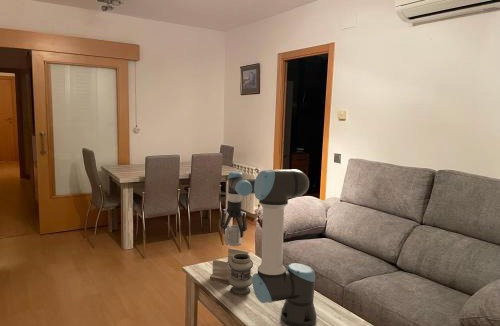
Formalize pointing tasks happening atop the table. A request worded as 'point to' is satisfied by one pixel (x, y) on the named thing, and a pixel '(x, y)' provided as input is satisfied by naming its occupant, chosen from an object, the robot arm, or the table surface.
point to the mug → (232, 235)
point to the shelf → (224, 267)
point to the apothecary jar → (240, 274)
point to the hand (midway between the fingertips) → (233, 241)
